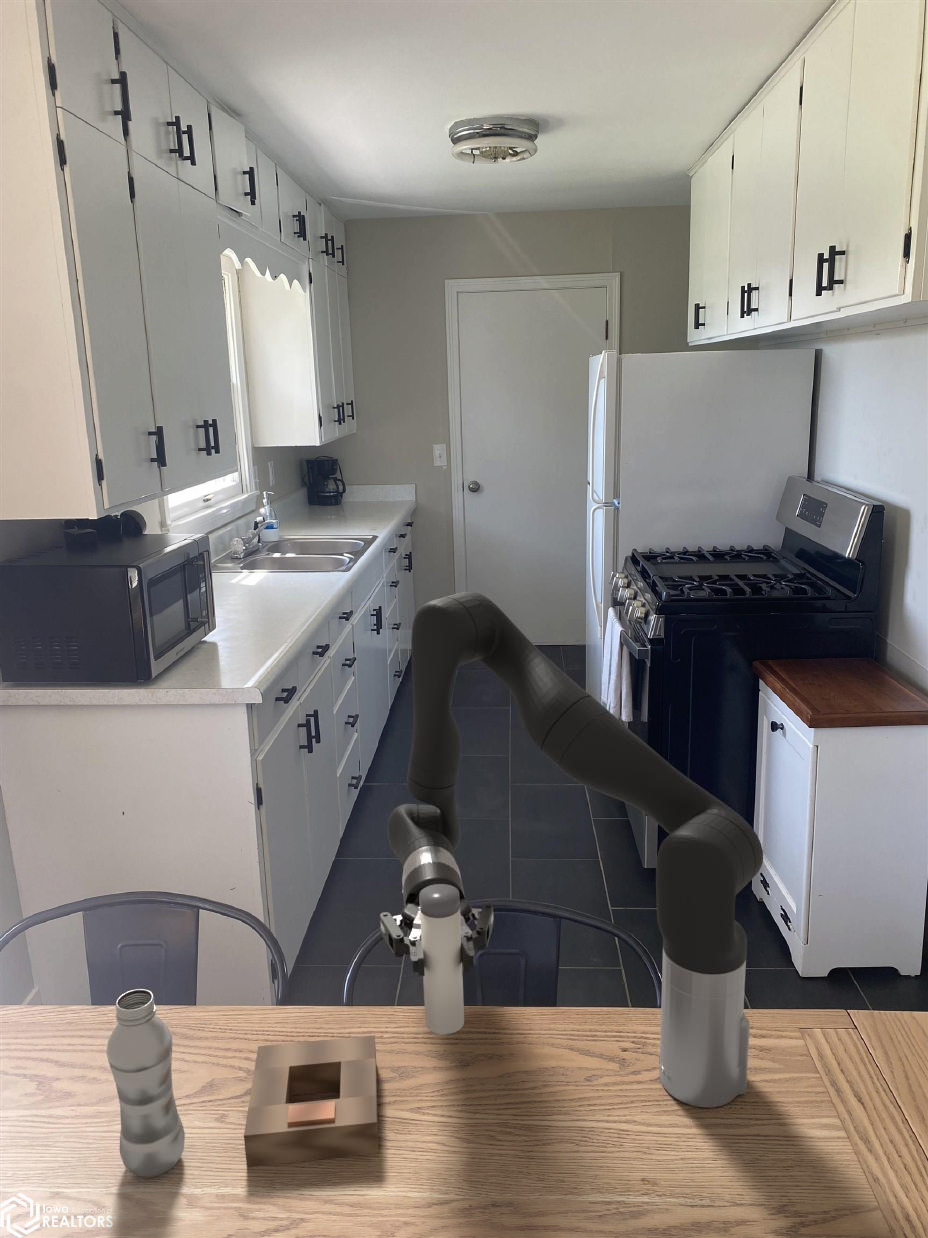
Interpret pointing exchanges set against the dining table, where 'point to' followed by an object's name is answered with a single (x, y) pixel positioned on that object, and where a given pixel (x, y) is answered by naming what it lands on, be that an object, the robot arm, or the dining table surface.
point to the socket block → (312, 1102)
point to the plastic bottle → (144, 1086)
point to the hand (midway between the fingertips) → (444, 966)
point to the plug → (442, 958)
